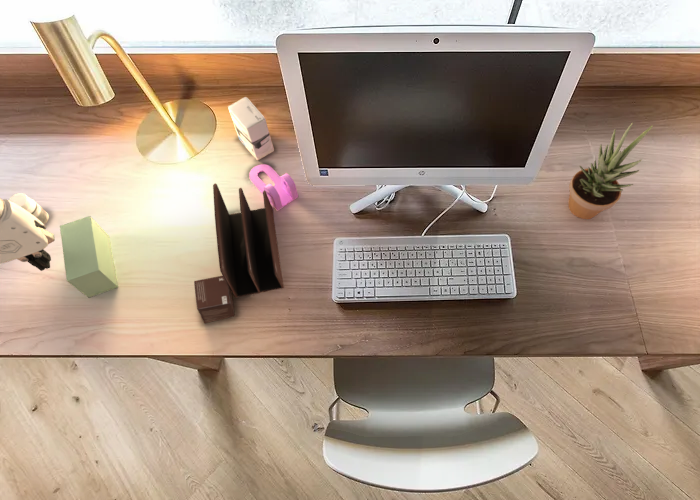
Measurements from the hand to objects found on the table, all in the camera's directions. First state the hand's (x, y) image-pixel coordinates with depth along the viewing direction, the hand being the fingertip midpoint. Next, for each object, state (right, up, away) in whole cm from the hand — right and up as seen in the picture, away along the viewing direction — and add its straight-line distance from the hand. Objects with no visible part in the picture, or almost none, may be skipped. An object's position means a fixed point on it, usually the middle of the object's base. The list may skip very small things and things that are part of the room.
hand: (45, 263), depth 94 cm
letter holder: (+39, +2, +8) cm, 40 cm away
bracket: (+41, +16, +16) cm, 47 cm away
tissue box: (+7, -1, +8) cm, 10 cm away
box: (+33, -9, +2) cm, 34 cm away
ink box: (+37, +26, +22) cm, 50 cm away
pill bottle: (-10, +8, +14) cm, 19 cm away
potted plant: (+108, +12, +10) cm, 109 cm away
